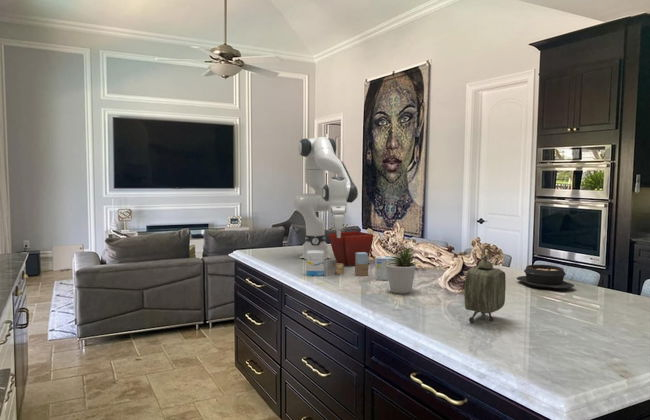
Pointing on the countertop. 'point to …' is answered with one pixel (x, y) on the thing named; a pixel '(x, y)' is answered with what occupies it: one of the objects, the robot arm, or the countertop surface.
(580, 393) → the countertop surface
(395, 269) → the potted plant
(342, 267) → the brown cylinder
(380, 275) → the light bulb box
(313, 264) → the ink box
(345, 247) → the plant pot
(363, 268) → the tower base
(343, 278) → the countertop surface
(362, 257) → the tower top
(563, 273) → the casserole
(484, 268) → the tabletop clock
